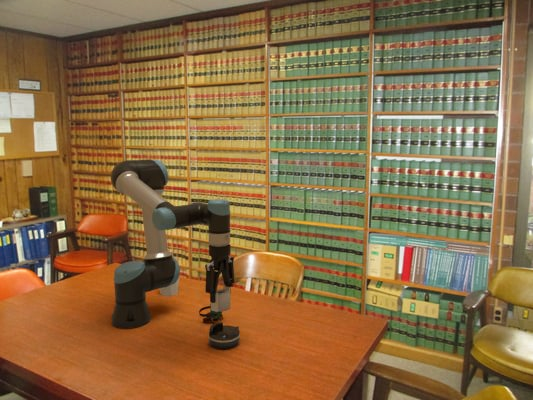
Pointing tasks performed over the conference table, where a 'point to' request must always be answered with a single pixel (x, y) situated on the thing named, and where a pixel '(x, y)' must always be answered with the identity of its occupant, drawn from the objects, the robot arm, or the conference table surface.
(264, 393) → the conference table surface
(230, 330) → the black round base
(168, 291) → the mug
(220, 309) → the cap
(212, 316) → the binoculars
